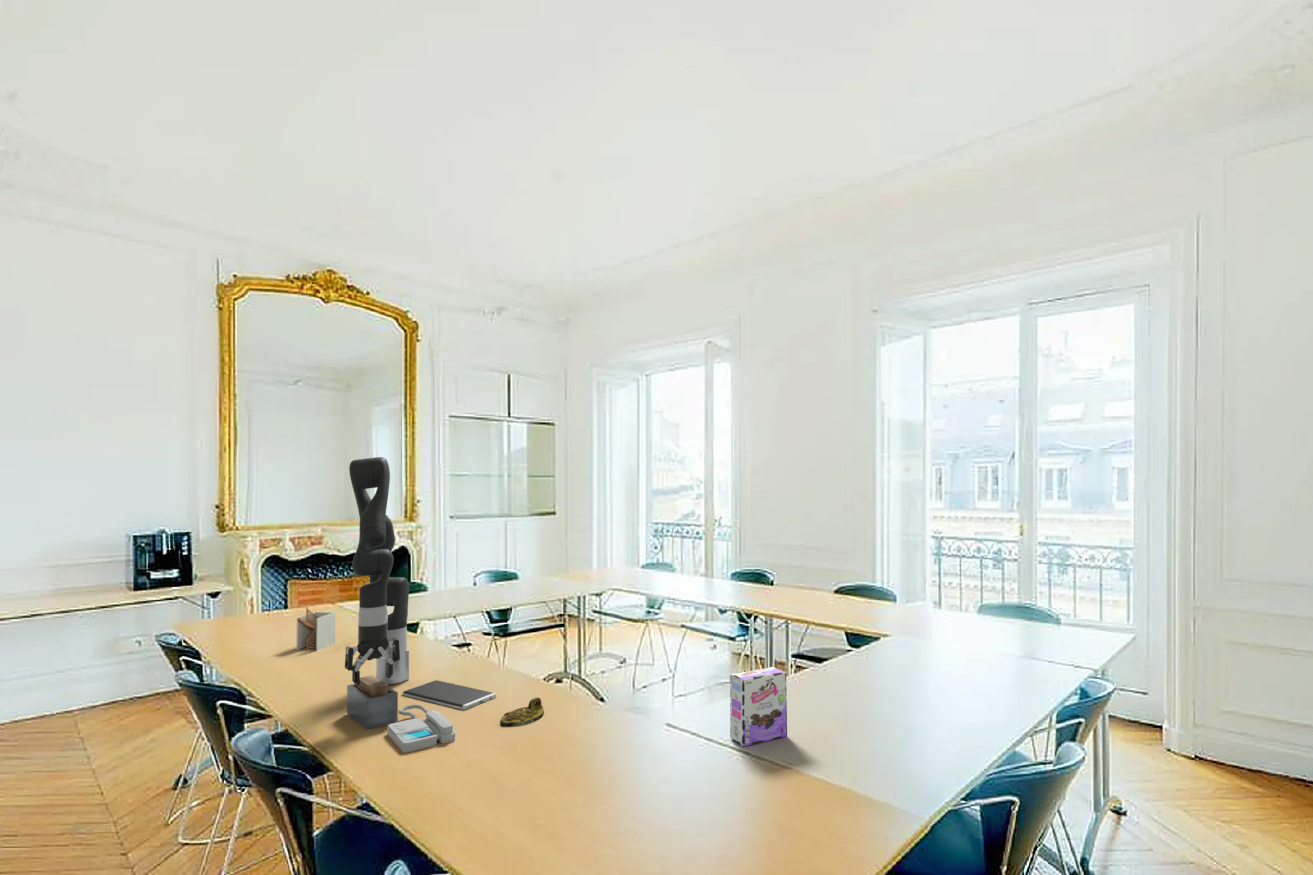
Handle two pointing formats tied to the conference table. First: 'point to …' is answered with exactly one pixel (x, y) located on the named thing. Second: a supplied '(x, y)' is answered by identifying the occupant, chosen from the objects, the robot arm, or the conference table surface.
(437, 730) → the intercom
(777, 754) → the conference table surface
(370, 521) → the robot arm
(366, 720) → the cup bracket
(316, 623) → the staircase
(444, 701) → the smartphone
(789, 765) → the conference table surface
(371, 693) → the brown rectangular block
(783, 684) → the candy box
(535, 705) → the seal
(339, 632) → the conference table surface
